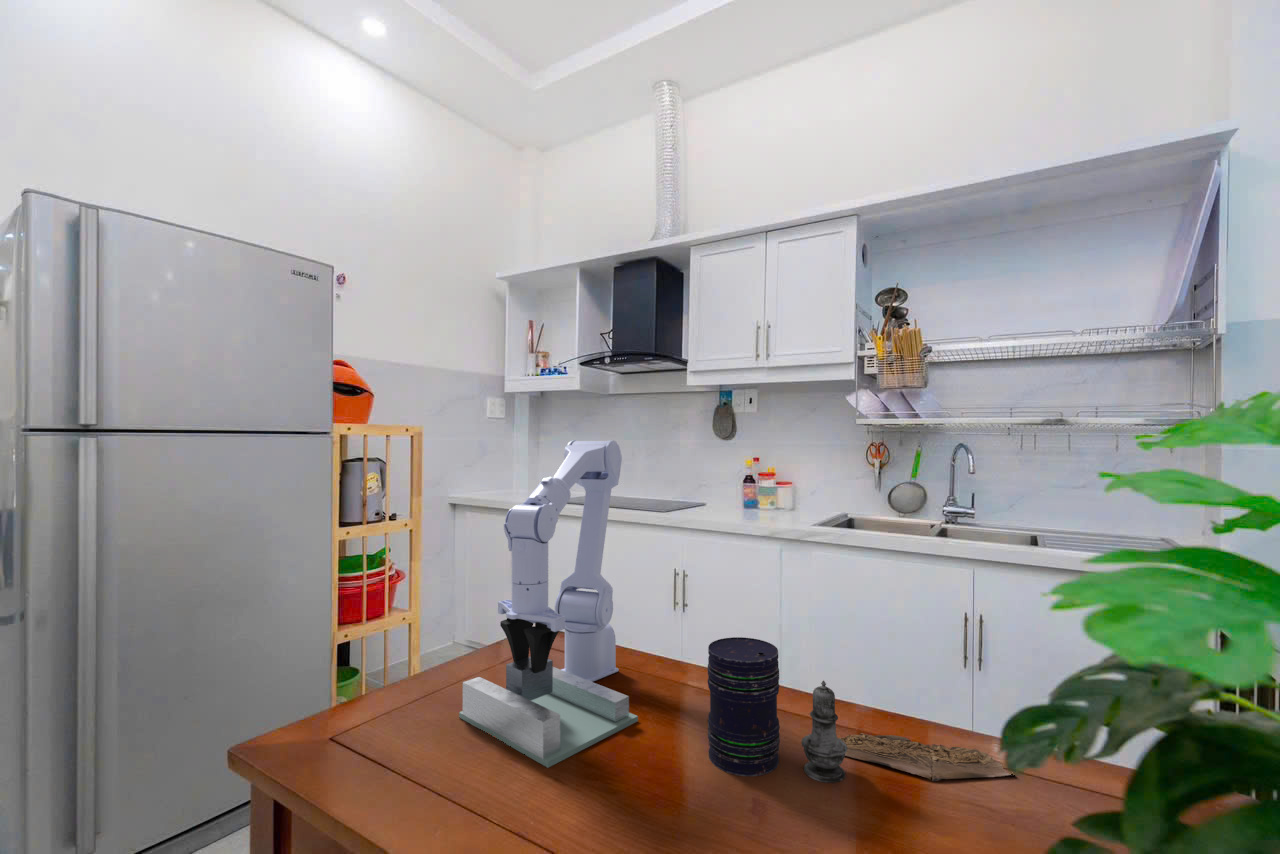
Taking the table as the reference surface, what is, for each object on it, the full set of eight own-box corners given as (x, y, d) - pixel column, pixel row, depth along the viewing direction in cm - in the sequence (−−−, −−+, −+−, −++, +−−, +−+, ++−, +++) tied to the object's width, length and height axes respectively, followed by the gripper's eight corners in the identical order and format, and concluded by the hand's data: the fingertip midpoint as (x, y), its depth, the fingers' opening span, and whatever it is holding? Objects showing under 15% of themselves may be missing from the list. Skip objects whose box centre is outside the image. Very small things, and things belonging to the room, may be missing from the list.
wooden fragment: (1006, 757, 84) (1006, 749, 84) (1026, 802, 74) (1026, 793, 74) (814, 727, 93) (814, 720, 93) (808, 763, 83) (808, 756, 83)
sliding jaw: (547, 681, 108) (547, 664, 108) (628, 715, 95) (628, 696, 95) (533, 686, 106) (533, 669, 106) (615, 722, 92) (615, 702, 92)
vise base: (547, 683, 109) (547, 650, 109) (637, 721, 95) (637, 683, 95) (459, 717, 96) (459, 680, 96) (547, 767, 81) (547, 724, 81)
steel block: (536, 685, 99) (536, 654, 99) (552, 692, 96) (552, 660, 96) (506, 696, 94) (506, 664, 94) (521, 704, 92) (521, 670, 92)
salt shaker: (824, 788, 76) (823, 693, 77) (792, 766, 82) (791, 676, 82) (857, 776, 79) (856, 684, 79) (824, 755, 84) (823, 669, 84)
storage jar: (693, 757, 84) (693, 649, 84) (733, 732, 91) (733, 632, 91) (755, 785, 77) (754, 667, 77) (793, 756, 84) (792, 648, 84)
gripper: (482, 578, 97) (481, 662, 97) (538, 593, 88) (538, 687, 87) (518, 570, 103) (517, 651, 102) (575, 584, 93) (575, 673, 93)
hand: (529, 667), depth 95 cm, fingers closed on steel block, 4 cm apart
